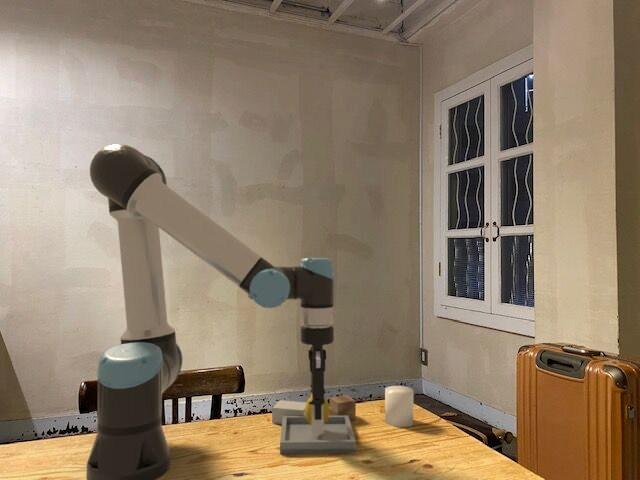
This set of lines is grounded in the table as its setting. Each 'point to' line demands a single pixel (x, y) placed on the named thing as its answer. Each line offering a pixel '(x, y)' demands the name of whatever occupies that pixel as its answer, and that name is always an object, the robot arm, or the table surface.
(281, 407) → the grey box
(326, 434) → the dish
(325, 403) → the lemon
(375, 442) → the table surface
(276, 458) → the table surface
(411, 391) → the cream rounded cylinder
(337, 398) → the walnut block
